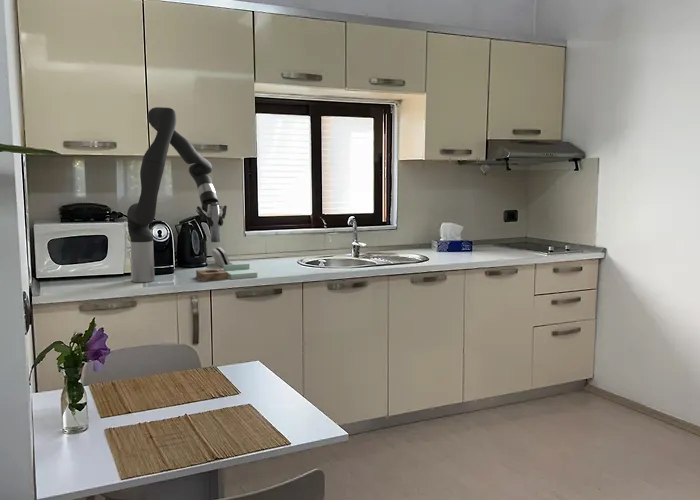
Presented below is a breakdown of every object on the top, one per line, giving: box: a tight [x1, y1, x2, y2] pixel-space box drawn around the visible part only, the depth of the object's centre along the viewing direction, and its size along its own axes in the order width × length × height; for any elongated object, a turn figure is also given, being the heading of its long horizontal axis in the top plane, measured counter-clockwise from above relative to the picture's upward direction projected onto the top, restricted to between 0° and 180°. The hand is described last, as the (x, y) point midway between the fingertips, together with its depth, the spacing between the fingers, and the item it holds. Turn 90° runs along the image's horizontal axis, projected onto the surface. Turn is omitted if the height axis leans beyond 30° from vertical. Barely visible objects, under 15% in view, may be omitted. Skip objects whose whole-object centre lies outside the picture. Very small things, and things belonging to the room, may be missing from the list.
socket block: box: [195, 268, 229, 282], centre depth 279 cm, size 11×11×3 cm
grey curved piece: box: [211, 246, 233, 268], centre depth 314 cm, size 17×5×10 cm, turn 26°
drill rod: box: [209, 203, 221, 243], centre depth 277 cm, size 4×4×17 cm
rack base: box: [222, 262, 258, 280], centre depth 285 cm, size 12×12×4 cm
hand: (216, 225), depth 275 cm, fingers closed on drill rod, 4 cm apart
